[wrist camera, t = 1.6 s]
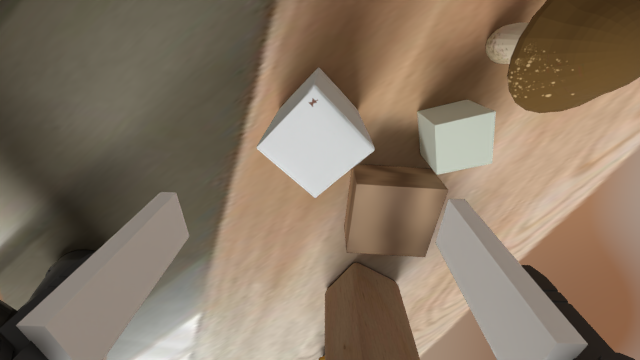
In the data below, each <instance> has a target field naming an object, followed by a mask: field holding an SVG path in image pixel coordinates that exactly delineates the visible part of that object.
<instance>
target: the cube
mask: <svg viewBox="0 0 640 360" xmlns="http://www.w3.org/2000/svg"><path fill="white" fill-rule="evenodd" d="M495 114H496V111H494V110H491V109H489V108H487V107H484V106H482V105H480V104H477V103H475V102H473V101H470V100H468V99H467V100H463V101H458V102H454V103H450V104H446V105H442V106H438V107H433V108H429V109H425V110H421V111H417V115H418V128H419V141H420V154H421V156H422V157H423V158H424V159H425V161H426V162H427V163H428V164H429V166H430V167H431V168H432V169H433V170H434V172H435V173H436V174H437V175H438V174H443V173H448V172H453V171H458V170H463V169H468V168H472V167H477V166H482V165H487V164H492V157H493V143H494V128H495Z"/></svg>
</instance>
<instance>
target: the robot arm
mask: <svg viewBox="0 0 640 360" xmlns="http://www.w3.org/2000/svg"><path fill="white" fill-rule="evenodd" d="M188 237H189V233H188V230H187V227H186V224H185V220H184V217H183V214H182V210H181V207H180V204H179V200H178V197H177V194H176V192H160V193H159V194H158V195H157V196H156V197H155V198H154V199H153V200H151V201H150V202H149V203H148V204H147V205H146V206H145V207H144V208H143V209H142V210H141V211H140V212H138V213H137V214H136V215H135V216H134V217H133V218H132V219H131V220H130V221H129V222H128V223H126V224H125V225H124V226H123V227H122V228H121V229H120V230H119V231H118V232H117V233H116V234H115V235H113V236H112V237H111V238H110V239H109V240H108V241H107V242H106V243H105V244H104V245H103V246H102V247H100V248H99V249H98V250H97V251H88V250H80V251H73V252H70V253H67V254H65V255H64V256H63V257H61V258H60V259H59V260H58V261H57V262H55V263H54V264H53V265H52V266H51V267H50V268H49V270H48V272H47V273H46V277H45V278H44V280H43V281H42V282H41V284H40V285H39V286H38V288H37V289H36V291H35V292H34V293H33V295H32V296H31V298H30V299H29V301H28V302H27V303H25V304H24V305H23V306H22V307H21V308H20V309H19V310H18V311H16V310H15V309H13V308H12V307H10V306H9V305H7V304H6V303H4V302H3V301H1V300H0V360H103V359H104V358H105V356H106V355H107V353H108V352H109V351H110V349H111V348H112V346H113V345H114V343H115V342H116V341H117V339H118V338H119V336H120V335H121V333H122V332H123V331H124V329H125V328H126V326H127V325H128V323H129V322H130V321H131V319H132V318H133V316H134V315H135V313H136V312H137V311H138V309H139V308H140V306H141V305H142V303H143V302H144V301H145V299H146V298H147V296H148V295H149V293H150V292H151V290H152V289H153V288H154V286H155V285H156V283H157V282H158V280H159V279H160V278H161V276H162V275H163V273H164V272H165V270H166V269H167V268H168V266H169V265H170V263H171V262H172V260H173V259H174V258H175V256H176V255H177V253H178V252H179V250H180V249H181V248H182V246H183V245H184V243H185V242H186V240H187V239H188ZM436 245H437V247H438V249H439V250H440V252H441V254H442V256H443V258H444V260H445V262H446V264H447V266H448V268H449V269H450V271H451V273H452V275H453V277H454V279H455V281H456V283H457V285H458V287H459V288H460V290H461V292H462V294H463V296H464V298H465V300H466V302H467V304H468V305H469V307H470V309H471V311H472V313H473V315H474V317H475V319H476V321H477V323H478V324H479V326H480V328H481V330H482V332H483V334H484V335H485V338H486V340H487V341H488V343H489V345H490V347H491V349H492V351H493V353H494V355H495V357H496V359H497V360H635V359H633V358H631V357H628V356H626V355H623V354H621V353H615V352H614V351H613V350H612V349H611V348H610V347H609V346H608V345H607V343H606V342H605V341H604V340H603V339H602V338H601V337H600V336H599V335H598V333H597V332H596V331H595V330H594V329H593V328H592V327H591V326H590V325H589V324H588V323H587V321H586V320H585V319H584V318H583V317H582V316H581V315H580V314H579V313H578V312H577V311H576V309H575V308H574V307H573V306H572V305H571V304H568V301H567V300H566V298H565V297H564V296H563V295H562V294H561V293H559V292H558V290H557V289H556V288H555V286H553V284H552V283H551V282H550V281H549V280H548V279H547V278H546V277H545V276H544V275H542V274H541V273H540V272H538V271H537V270H536V269H534V268H533V267H531V266H530V265H520V264H519V262H518V261H517V260H516V259H515V258H514V256H513V255H512V254H511V253H510V252H509V251H508V249H507V248H506V247H505V246H504V245H503V244H502V242H501V241H500V240H499V239H498V238H497V237H496V235H495V234H494V233H493V232H492V231H491V229H490V228H489V227H488V226H487V225H486V224H485V222H484V221H483V220H482V219H481V218H480V217H479V215H478V214H477V213H476V212H475V211H474V210H473V208H472V207H471V206H470V205H469V204H468V202H467V201H466V200H465V199H448V203H447V206H446V209H445V213H444V216H443V219H442V223H441V226H440V229H439V233H438V236H437V239H436Z"/></svg>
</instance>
